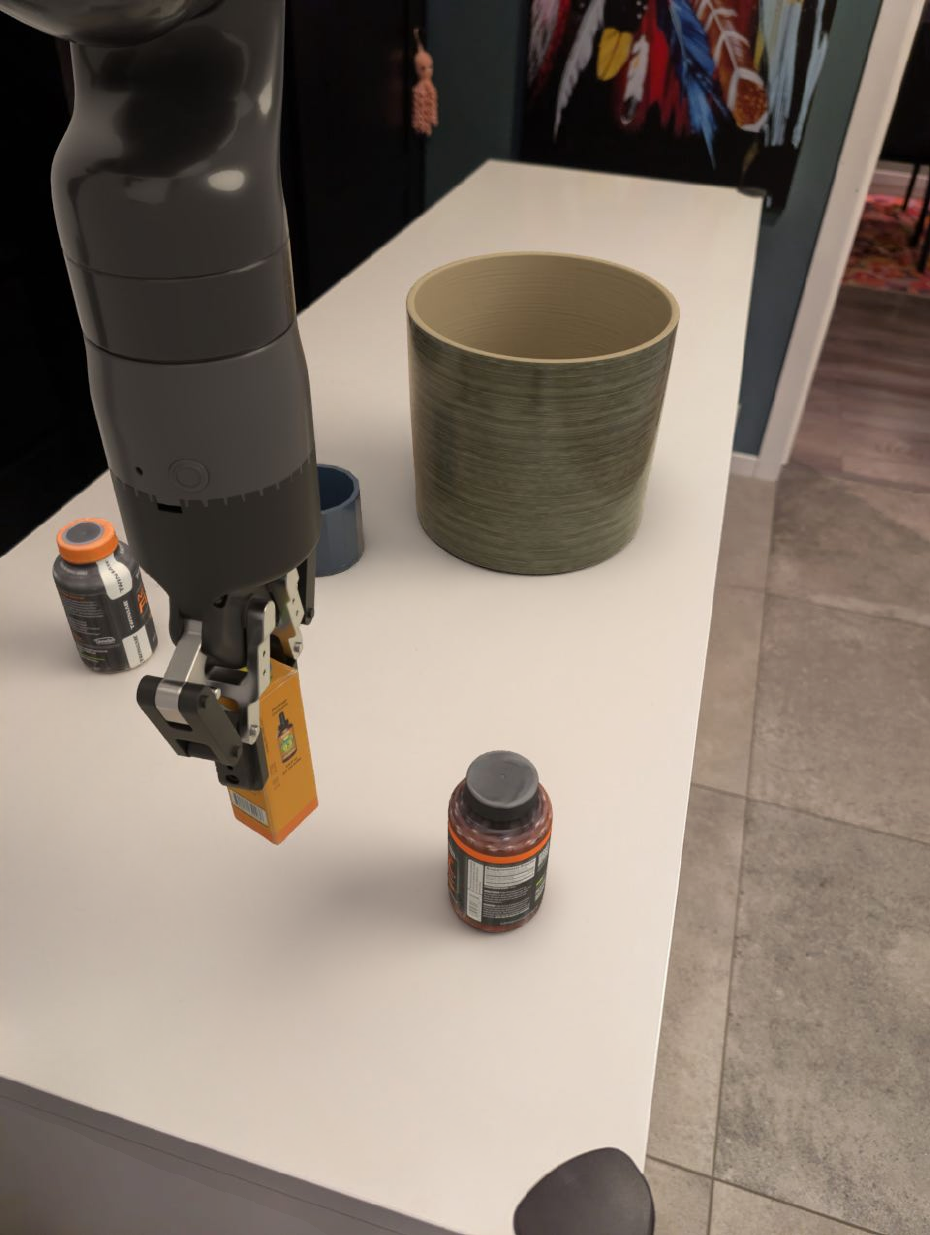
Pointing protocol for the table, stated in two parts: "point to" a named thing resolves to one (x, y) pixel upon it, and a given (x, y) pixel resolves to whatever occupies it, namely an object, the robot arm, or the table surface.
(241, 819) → the supplement box
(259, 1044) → the table surface
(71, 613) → the pill bottle
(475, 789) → the supplement bottle
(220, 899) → the table surface
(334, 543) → the cup
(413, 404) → the planter
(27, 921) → the table surface
